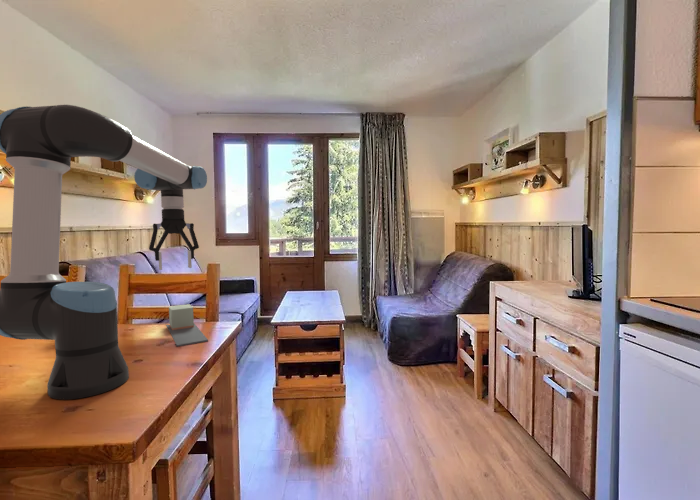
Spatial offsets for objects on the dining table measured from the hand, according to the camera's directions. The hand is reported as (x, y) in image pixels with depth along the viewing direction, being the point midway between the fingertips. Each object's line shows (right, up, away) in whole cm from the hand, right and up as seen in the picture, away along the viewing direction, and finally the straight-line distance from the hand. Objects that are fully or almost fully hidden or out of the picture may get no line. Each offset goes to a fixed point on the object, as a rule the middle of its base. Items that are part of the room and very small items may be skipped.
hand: (175, 268), depth 137 cm
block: (+5, -20, -6) cm, 22 cm away
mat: (+10, -21, -13) cm, 27 cm away
